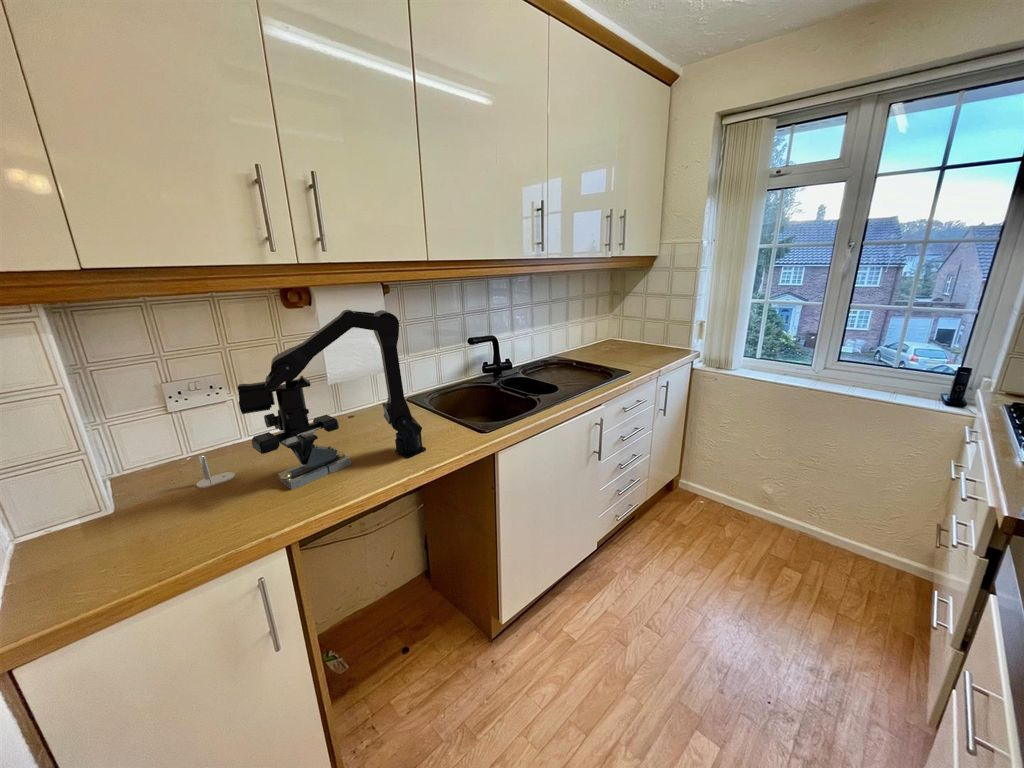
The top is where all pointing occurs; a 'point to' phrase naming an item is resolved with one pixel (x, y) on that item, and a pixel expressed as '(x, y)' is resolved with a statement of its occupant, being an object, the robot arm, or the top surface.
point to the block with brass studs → (320, 456)
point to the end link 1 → (301, 480)
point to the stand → (212, 479)
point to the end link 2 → (339, 462)
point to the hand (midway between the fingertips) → (303, 463)
